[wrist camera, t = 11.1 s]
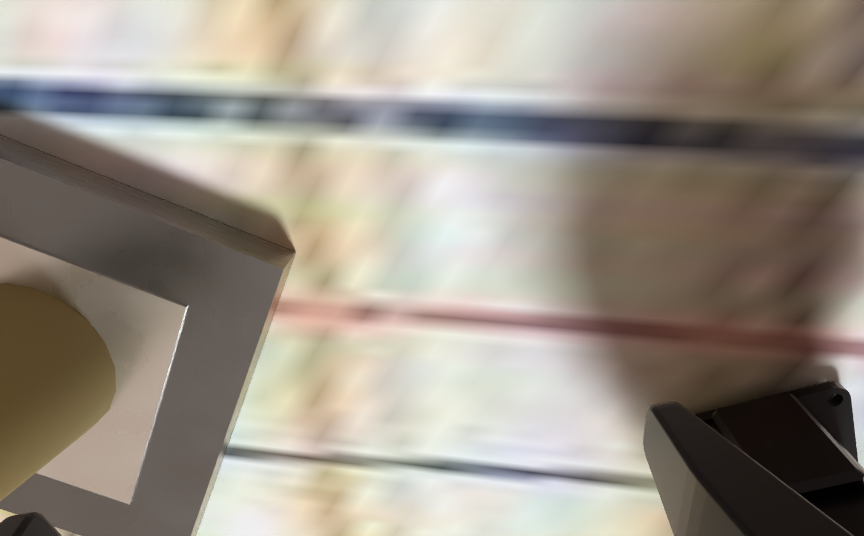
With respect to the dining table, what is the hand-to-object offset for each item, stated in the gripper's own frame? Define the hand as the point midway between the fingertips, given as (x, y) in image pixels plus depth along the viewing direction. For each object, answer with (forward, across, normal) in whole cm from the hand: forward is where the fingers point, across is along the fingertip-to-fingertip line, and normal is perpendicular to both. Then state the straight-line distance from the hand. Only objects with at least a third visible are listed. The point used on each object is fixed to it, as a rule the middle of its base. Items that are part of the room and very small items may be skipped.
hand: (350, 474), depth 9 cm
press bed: (+12, +12, +6) cm, 18 cm away
